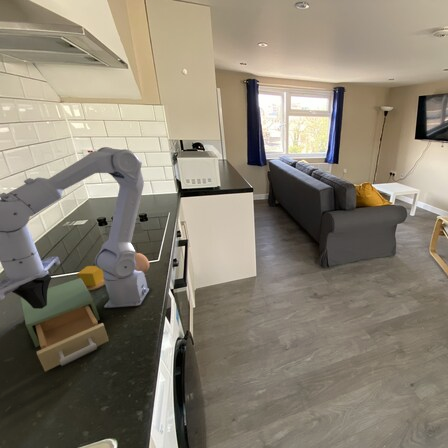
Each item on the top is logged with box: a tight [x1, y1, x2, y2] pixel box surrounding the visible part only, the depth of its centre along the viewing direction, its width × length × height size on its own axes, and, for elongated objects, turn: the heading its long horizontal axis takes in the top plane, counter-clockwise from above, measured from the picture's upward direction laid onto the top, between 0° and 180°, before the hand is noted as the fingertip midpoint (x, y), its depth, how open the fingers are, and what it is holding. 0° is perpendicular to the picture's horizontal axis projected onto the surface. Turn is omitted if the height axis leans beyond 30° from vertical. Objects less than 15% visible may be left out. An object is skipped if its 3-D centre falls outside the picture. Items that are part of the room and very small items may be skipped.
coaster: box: [86, 279, 106, 292], centre depth 85 cm, size 9×9×1 cm
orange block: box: [76, 265, 104, 286], centre depth 85 cm, size 5×5×5 cm
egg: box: [135, 252, 150, 275], centre depth 89 cm, size 7×7×8 cm
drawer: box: [35, 305, 110, 372], centre depth 61 cm, size 18×11×5 cm, turn 48°
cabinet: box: [19, 278, 101, 348], centre depth 69 cm, size 15×13×7 cm
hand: (40, 306), depth 61 cm, fingers closed
